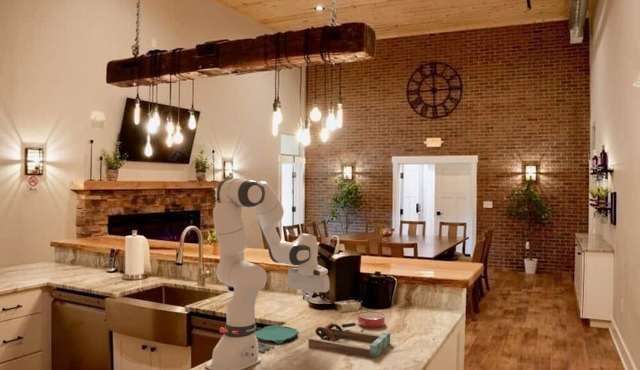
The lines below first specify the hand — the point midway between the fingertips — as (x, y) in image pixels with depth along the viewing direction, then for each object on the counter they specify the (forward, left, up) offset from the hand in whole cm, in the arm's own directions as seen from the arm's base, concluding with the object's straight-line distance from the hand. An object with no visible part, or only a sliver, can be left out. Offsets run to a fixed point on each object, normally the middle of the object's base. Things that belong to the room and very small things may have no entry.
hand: (308, 299), depth 224 cm
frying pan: (+22, -18, -17) cm, 33 cm away
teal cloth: (-11, +14, -18) cm, 25 cm away
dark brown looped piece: (+1, -10, -17) cm, 20 cm away
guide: (0, -21, -17) cm, 27 cm away
